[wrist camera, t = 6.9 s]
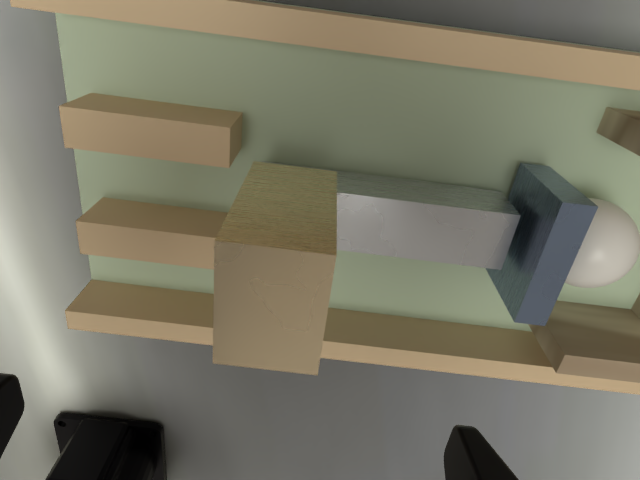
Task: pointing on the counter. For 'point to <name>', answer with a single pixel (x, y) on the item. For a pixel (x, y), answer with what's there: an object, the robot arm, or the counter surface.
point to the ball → (606, 248)
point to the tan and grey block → (377, 249)
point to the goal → (593, 320)
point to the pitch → (324, 161)
